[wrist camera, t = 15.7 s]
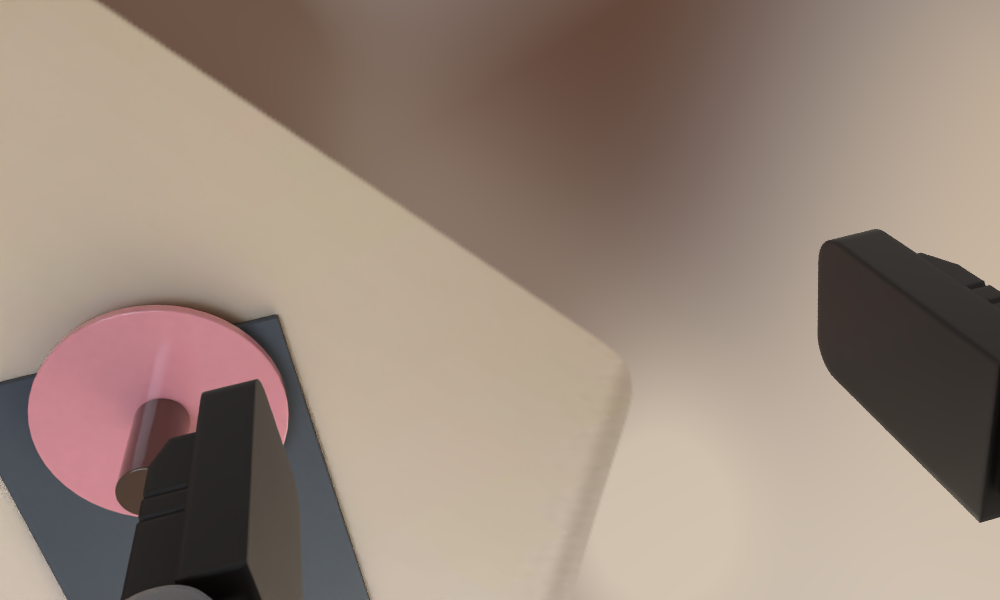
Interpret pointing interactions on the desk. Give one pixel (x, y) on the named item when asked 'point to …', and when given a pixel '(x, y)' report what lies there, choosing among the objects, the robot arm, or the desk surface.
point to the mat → (109, 535)
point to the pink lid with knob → (136, 394)
